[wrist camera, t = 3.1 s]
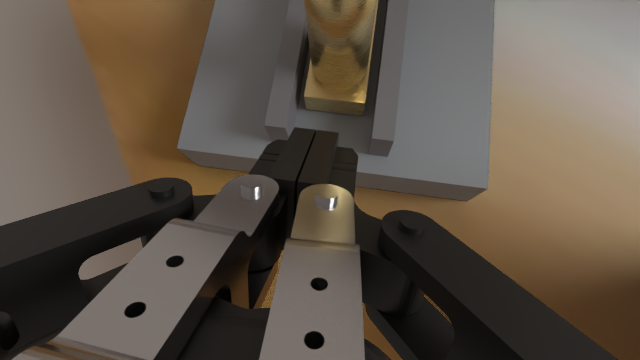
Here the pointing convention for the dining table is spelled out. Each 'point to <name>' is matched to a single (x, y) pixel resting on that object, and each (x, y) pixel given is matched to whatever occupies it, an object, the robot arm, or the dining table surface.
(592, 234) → the dining table surface
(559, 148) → the dining table surface
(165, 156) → the dining table surface
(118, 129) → the dining table surface
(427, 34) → the door edge model
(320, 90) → the bolt
